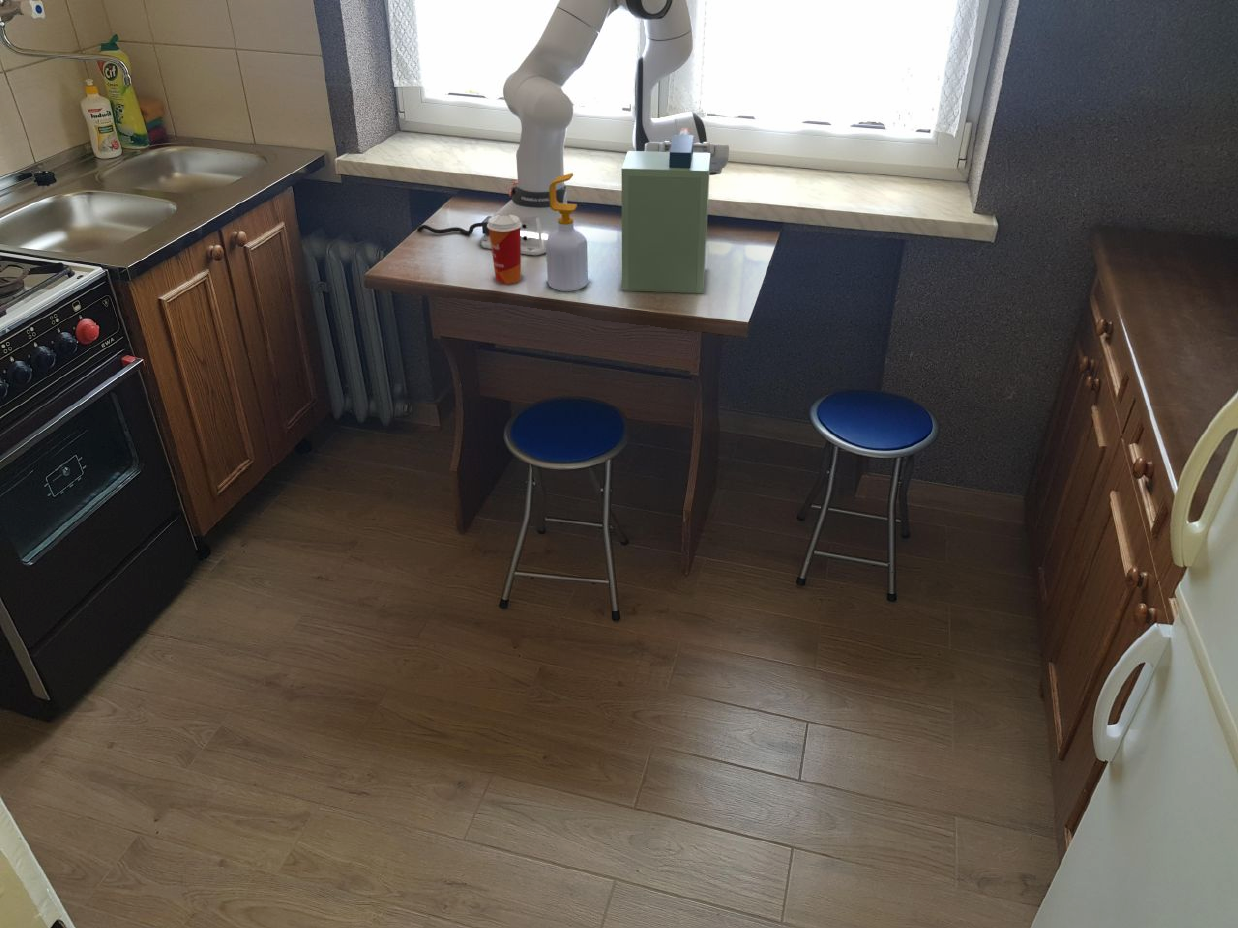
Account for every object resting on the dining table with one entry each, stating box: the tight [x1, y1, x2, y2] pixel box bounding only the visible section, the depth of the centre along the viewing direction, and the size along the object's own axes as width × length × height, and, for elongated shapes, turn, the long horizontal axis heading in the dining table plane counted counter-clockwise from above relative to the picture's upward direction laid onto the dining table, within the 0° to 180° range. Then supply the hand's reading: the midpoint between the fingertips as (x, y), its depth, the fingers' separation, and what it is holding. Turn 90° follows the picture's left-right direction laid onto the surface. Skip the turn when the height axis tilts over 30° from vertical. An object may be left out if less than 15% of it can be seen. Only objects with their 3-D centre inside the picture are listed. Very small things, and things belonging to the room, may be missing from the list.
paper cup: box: [487, 215, 522, 285], centre depth 214 cm, size 8×8×14 cm
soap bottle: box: [545, 172, 589, 292], centre depth 209 cm, size 9×9×25 cm
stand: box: [621, 150, 710, 294], centre depth 209 cm, size 13×18×27 cm
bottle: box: [669, 128, 694, 168], centre depth 205 cm, size 20×4×3 cm, turn 174°
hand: (686, 145), depth 222 cm, fingers open, 8 cm apart
